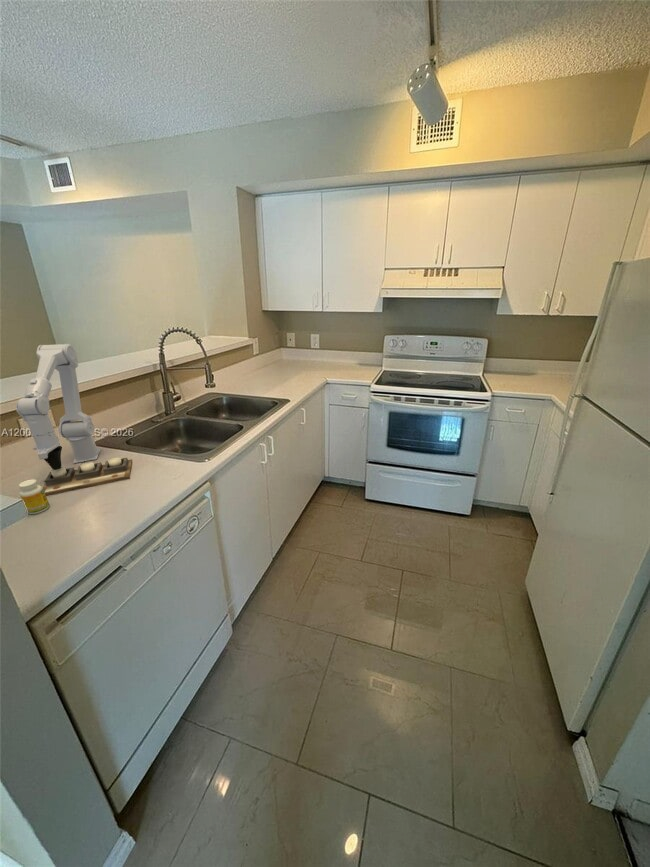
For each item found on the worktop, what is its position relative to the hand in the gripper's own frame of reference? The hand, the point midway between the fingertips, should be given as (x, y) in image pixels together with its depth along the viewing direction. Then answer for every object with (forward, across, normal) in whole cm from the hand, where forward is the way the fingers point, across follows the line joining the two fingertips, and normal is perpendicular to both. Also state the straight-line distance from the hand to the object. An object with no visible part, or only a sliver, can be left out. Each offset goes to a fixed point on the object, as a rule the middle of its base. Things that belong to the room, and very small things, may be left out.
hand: (57, 468), depth 115 cm
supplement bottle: (+5, +16, -2) cm, 18 cm away
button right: (+3, 0, +17) cm, 17 cm away
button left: (+3, 0, 0) cm, 3 cm away
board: (+5, +2, +8) cm, 10 cm away
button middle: (+3, 0, +9) cm, 9 cm away
